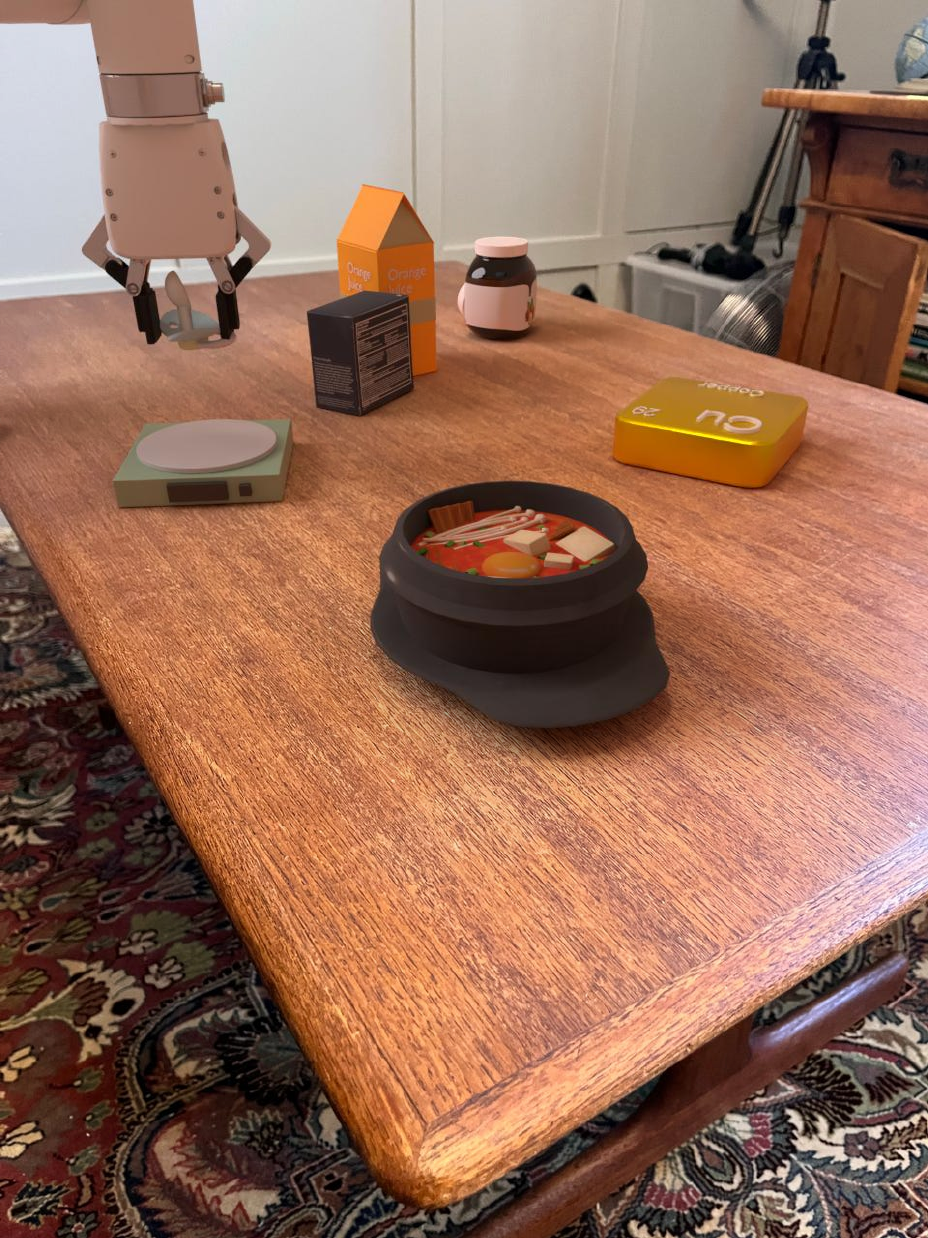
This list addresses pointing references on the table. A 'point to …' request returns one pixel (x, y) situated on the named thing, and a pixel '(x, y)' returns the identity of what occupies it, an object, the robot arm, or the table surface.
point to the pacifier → (189, 321)
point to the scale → (206, 463)
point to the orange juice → (392, 263)
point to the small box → (361, 351)
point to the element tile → (710, 431)
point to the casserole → (521, 603)
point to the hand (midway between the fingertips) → (191, 336)
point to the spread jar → (499, 289)
